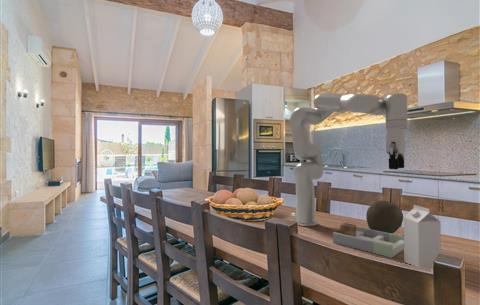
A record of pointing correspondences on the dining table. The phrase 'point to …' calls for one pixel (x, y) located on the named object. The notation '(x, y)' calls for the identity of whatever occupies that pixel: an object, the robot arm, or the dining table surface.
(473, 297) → the dining table surface
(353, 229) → the walnut block
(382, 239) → the lane box
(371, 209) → the brown coconut
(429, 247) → the milk carton
